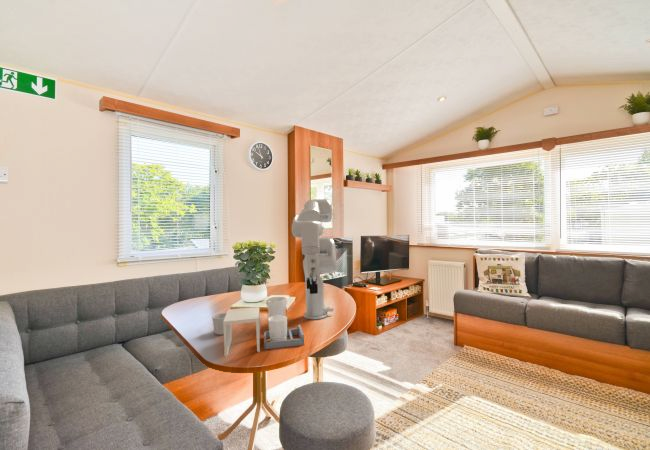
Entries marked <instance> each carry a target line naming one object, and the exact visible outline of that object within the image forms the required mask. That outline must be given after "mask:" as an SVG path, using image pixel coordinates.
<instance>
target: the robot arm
mask: <svg viewBox="0 0 650 450" xmlns="http://www.w3.org/2000/svg"><path fill="white" fill-rule="evenodd" d="M332 217H333V205H332V202H331V200H329V199H327V198H322V199H321V198H320V199H319V198H318V199H317V198H316V199H309V200H307V201H305V203H304V204H303V209H302V210H301V211H300V212H299V213H297V214H296V215H295V216H294V217H293V219H292V224H291V233H292V236H293V237H294V238H297V239H300V238H301V254H302V255H304V259H303V260H302V267H303V273H304V284H305V288H304V289H305V310H306V311H305V312H304V313H303V315H302V316H303V318H305V319H306V320H313V321H314V320H322V319H325V318H326V317H328V312H330V313H333V312H334V307H330V306H328V307H327V306H325V288H324V287H325V285H324V280H323V279H322V277H321V274H322V275H323V274H333V273H335V272H336V271H337V267H338V266H337V265H338V263H337V250H336V249H337V248H336V242H335V240H334V239H333V238H331V237H322V235H323V234H324V229H325V228H324V227H325V226H324V224H323V223H329V222H331V221H332V219H333V218H332Z"/></svg>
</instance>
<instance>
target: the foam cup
mask: <svg viewBox="0 0 650 450" xmlns="http://www.w3.org/2000/svg"><path fill="white" fill-rule="evenodd" d="M287 301H288V300H287V297H285V296H273V297H269V298H267V299H266V306H267V311H268V316H269V317H268V318H270V317H272V316H277V315H283V316H286V310H287V309H286V308H287V304H288V303H287Z"/></svg>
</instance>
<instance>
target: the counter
mask: <svg viewBox="0 0 650 450" xmlns="http://www.w3.org/2000/svg"><path fill="white" fill-rule="evenodd" d="M226 313H227V314H226V316H225V319H224V321H223V327H224V334H223V351H224V353H223V354H224V357H227V356H228V355H229V352H230V347H231V344H232V340H233V338H232V336H233V333H232V325H235V324H237V325H238V324H246V323H255V326H256V328H255V330H256V333H255V334H256V352H257V353H260V352H261V345H260V344H261V343H260V341H261V340H260V339H261V323H260V322H261V320H260V319H261V318H260V306H254V307H253V306H252V307H251V306H250V307H242V308H241V307H240V308H229V309H227V311H226Z"/></svg>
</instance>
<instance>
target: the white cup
mask: <svg viewBox="0 0 650 450" xmlns="http://www.w3.org/2000/svg"><path fill="white" fill-rule="evenodd" d="M267 323H268V324H267V325H268V331H269V336H270V337H269V340H270V341H269V342H271V341H281V340H288V339H287V337H288V336H287V329H288V316H286V315H285V316H283V315H277V316H272V317H270V318H269V317H268V318H267Z"/></svg>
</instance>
